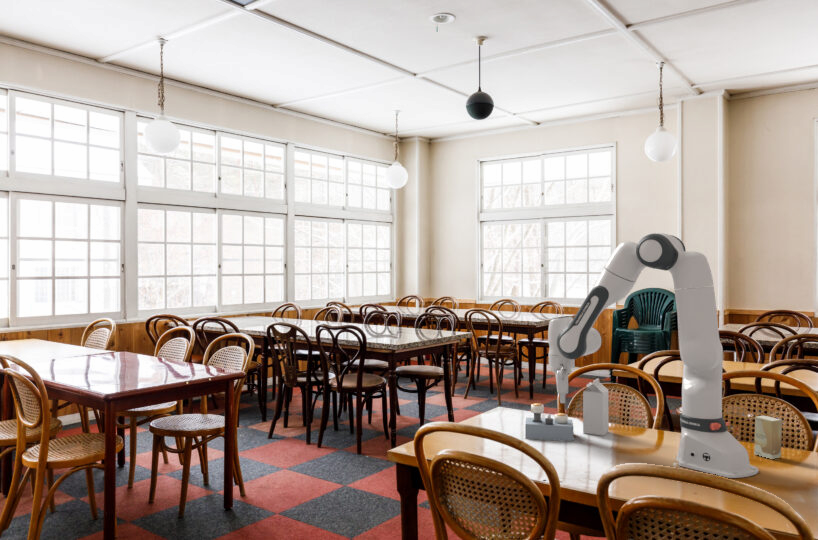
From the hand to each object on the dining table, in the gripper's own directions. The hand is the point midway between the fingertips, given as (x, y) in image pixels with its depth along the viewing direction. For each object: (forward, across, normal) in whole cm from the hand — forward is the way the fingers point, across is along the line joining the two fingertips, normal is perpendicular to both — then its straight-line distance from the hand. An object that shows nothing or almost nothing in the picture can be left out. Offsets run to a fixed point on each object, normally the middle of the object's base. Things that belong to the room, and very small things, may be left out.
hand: (562, 402), depth 220 cm
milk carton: (+12, +9, -12) cm, 19 cm away
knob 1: (+9, 0, +9) cm, 12 cm away
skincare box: (+14, -10, -62) cm, 64 cm away
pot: (+7, -3, +5) cm, 9 cm away
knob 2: (+12, 0, +1) cm, 12 cm away
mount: (+12, 0, +5) cm, 13 cm away
